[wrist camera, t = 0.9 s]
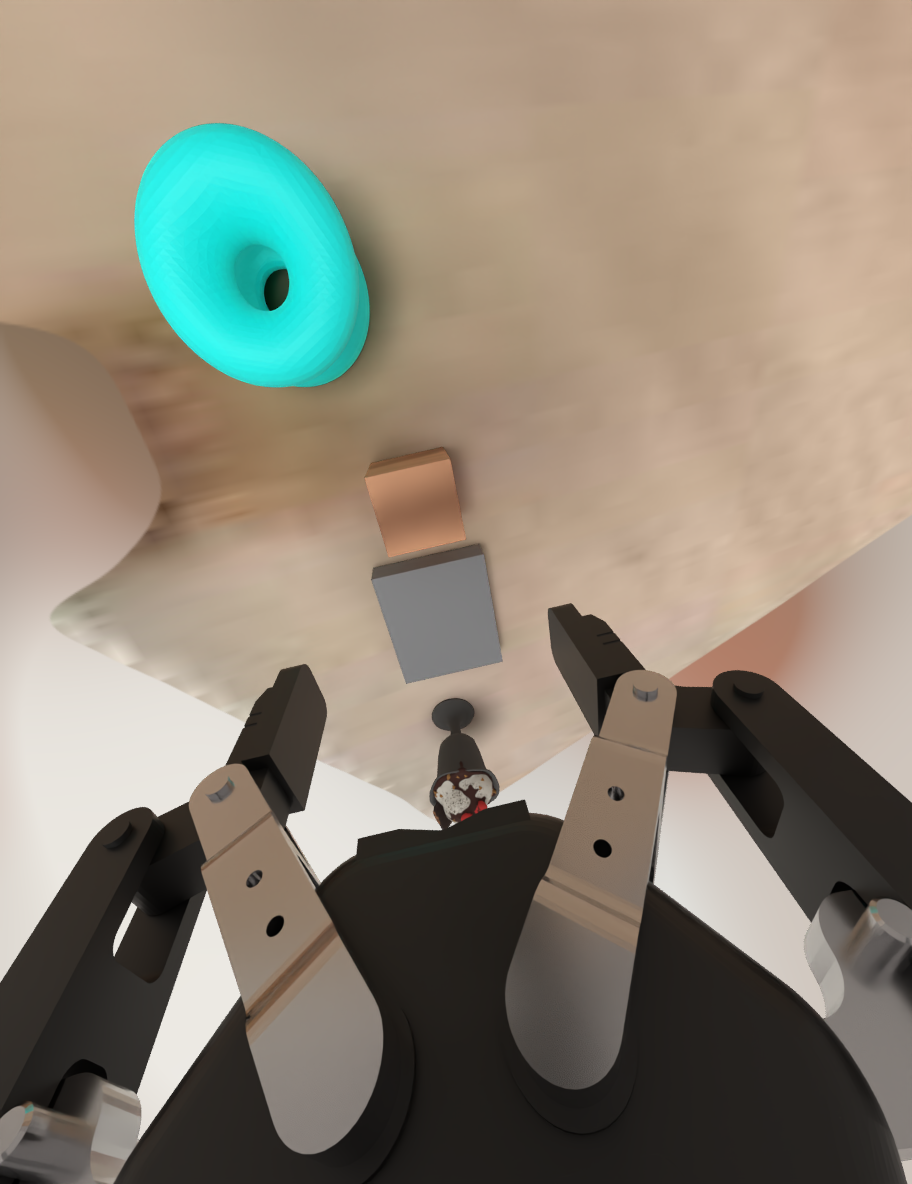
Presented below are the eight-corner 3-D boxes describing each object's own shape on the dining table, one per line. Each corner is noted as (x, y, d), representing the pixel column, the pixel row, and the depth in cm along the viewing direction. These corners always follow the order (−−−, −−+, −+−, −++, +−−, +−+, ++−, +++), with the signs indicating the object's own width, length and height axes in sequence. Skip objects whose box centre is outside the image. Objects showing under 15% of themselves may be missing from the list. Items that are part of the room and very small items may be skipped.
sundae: (482, 689, 45) (514, 817, 31) (479, 732, 48) (508, 865, 35) (423, 693, 44) (432, 826, 31) (425, 737, 47) (433, 874, 34)
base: (373, 565, 37) (371, 579, 34) (478, 542, 37) (483, 554, 34) (406, 665, 42) (406, 683, 40) (496, 644, 43) (502, 661, 40)
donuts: (399, 296, 19) (256, 429, 21) (400, 324, 28) (299, 416, 30) (226, 31, 15) (66, 228, 17) (292, 162, 24) (182, 282, 26)
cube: (371, 463, 32) (364, 478, 27) (442, 446, 32) (450, 458, 27) (391, 531, 35) (388, 557, 30) (456, 516, 35) (466, 539, 30)
